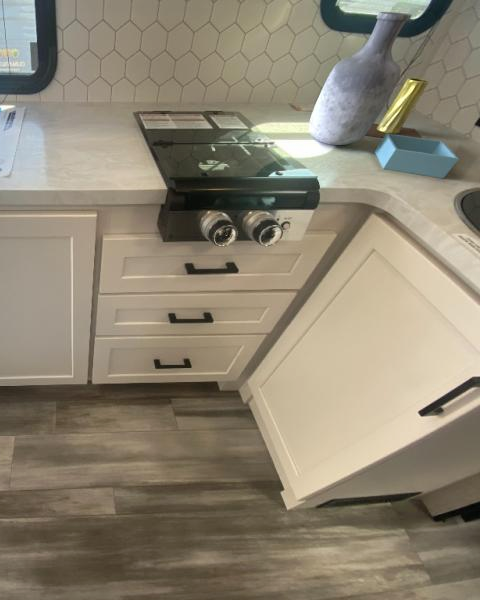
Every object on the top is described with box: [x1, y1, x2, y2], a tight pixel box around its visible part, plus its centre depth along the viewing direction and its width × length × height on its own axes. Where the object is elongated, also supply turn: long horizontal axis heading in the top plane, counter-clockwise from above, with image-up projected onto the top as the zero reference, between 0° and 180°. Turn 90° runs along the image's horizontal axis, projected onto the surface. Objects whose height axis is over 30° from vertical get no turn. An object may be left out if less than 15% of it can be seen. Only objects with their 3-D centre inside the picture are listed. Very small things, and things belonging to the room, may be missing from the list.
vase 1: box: [308, 11, 413, 146], centre depth 93 cm, size 16×16×30 cm
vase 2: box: [377, 77, 430, 134], centre depth 106 cm, size 6×6×14 cm
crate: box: [374, 133, 459, 179], centre depth 91 cm, size 13×13×5 cm
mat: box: [364, 123, 423, 139], centre depth 111 cm, size 18×14×1 cm
